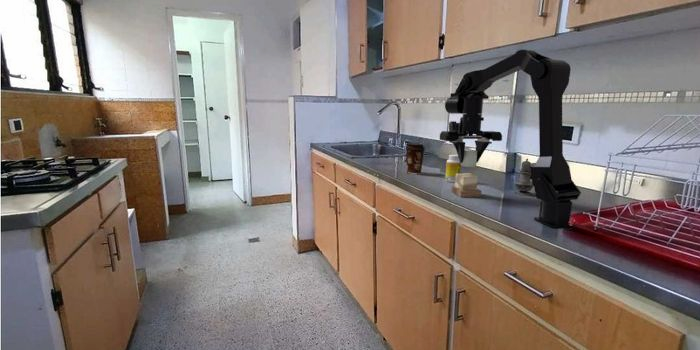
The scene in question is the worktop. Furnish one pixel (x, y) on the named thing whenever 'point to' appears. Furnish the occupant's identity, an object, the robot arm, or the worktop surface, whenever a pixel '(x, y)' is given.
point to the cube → (466, 181)
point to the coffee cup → (414, 157)
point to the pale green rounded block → (469, 158)
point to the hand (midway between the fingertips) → (468, 162)
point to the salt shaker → (524, 180)
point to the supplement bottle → (452, 168)
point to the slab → (466, 192)
